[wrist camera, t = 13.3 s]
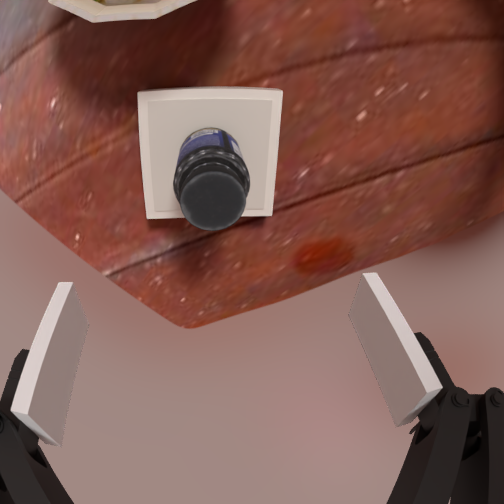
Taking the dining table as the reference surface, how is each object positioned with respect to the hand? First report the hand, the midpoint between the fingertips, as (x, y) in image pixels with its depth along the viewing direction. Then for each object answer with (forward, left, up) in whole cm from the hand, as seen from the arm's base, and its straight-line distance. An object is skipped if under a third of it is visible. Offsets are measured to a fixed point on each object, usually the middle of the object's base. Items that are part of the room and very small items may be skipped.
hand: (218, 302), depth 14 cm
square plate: (0, 0, -24) cm, 24 cm away
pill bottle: (0, 0, -21) cm, 21 cm away
